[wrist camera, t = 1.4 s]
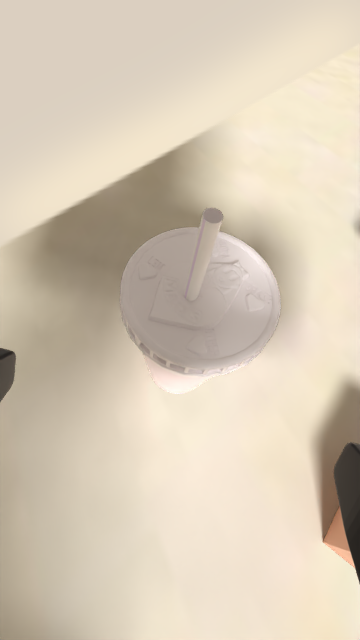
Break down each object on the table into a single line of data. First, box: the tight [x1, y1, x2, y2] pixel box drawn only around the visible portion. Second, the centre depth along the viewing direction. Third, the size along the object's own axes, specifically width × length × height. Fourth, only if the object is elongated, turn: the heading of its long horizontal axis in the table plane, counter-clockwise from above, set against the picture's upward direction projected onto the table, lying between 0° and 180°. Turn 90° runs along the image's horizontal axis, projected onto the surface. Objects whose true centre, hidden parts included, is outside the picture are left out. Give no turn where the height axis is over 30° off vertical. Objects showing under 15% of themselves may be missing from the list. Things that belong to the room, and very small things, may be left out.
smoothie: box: [120, 208, 281, 394], centre depth 15 cm, size 6×6×14 cm
